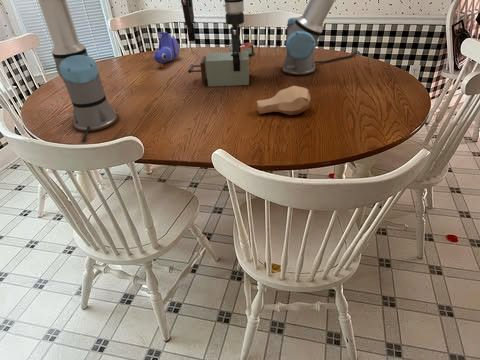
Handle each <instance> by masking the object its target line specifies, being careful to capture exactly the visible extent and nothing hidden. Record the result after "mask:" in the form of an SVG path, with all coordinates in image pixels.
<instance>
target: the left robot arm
mask: <svg viewBox="0 0 480 360" xmlns="http://www.w3.org/2000/svg"><path fill="white" fill-rule="evenodd" d="M37 1H38V5H39V8H40V10H41V12H42V15H43V19H44V21H45V24H46V27H47V30H48V33H49V35H50V38H51V41H52V44H53V48H52V50H51V54H52V57H53V61H54V63H55V68H56V71H57V74H58V75H59V77H60V79H62V81H63V84H64V85H65V87H66V90H67V93H68V95H69V99H70V101H71V104H72V108H73V114H72V117H73V118H72V119H73V125H74V128H75V129H76V131H78V132H84V134H83V138H82V139H81V141H82V142H85V141H86V139H87V136H88V135H89V134H88V133H92V132H99V131H102V130H105V129H107V128H110V127H111V126H113V125H115V124H116V122H117V121H118V116H117V112H116V110H115V109H114V107H112V105H111V103H110V102H109V101H108V99H107V96H106V92H105V90H104V87H103V86H104V85H103V83H102V79H101V75H100V72H99V66H98V64H97V62H96V60H95V59H94V58H93V57H92V56H89V54H88V51H87V48H86V45H84V44H83V43H81V42H80V40H79V36H78V33H77V29H76V27H75V24H74V21H73V18H72V14H71V11H70V8H69V4H68V1H67V0H37ZM180 3H181V8H182V12H183V18H184V26H186V30H187V38H188V42H196V40H197V39H196V32H195V24H196V20H195V16H194V4H193V0H180Z"/></svg>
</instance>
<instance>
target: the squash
mask: <svg viewBox="0 0 480 360" xmlns="http://www.w3.org/2000/svg"><path fill="white" fill-rule="evenodd" d="M311 98H312V97H311V95H310V90H309V89H307V88H306V87H302V86H298V85H292V86H289V87H287V88H283V89H280V90H279V91H277V92H276V94H275V95H274V96H272V97H271V98H265V99H257V100H256V102H255V103H256V107H257V109H256V110H257V113H258V114H259V115H263V114H266V113H273V112H275V113H282V114H284V115H287V116H295V115H300V114H301V113H303V112H305V111H306V110H308V109H309V107H310V102H311Z"/></svg>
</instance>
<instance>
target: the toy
mask: <svg viewBox="0 0 480 360" xmlns="http://www.w3.org/2000/svg"><path fill="white" fill-rule="evenodd" d="M157 34H158V35H161V36H159V40H158V49H157V51H156V50H154V53H153V55H152V58H153V60H154V61H155V62H156V63H158V64H160V67H161V69H163V68H164V64H166V63H169V62H172V61H173V60H175V59H176V58H177V57H179V54H180V45H179V41H178V40H177V38H176V37H175V36H174V35H172V36H171V35H170V34H169V33H168V31H164V32H163V31H158V32H157Z"/></svg>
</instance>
